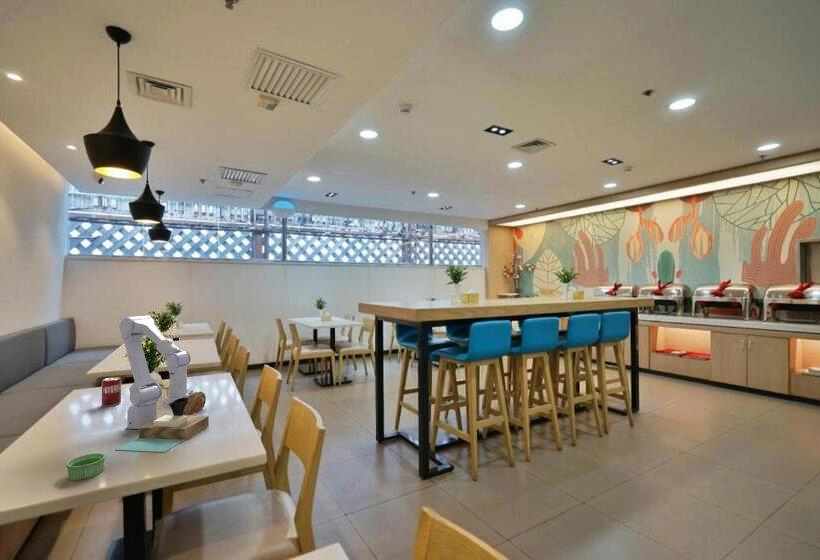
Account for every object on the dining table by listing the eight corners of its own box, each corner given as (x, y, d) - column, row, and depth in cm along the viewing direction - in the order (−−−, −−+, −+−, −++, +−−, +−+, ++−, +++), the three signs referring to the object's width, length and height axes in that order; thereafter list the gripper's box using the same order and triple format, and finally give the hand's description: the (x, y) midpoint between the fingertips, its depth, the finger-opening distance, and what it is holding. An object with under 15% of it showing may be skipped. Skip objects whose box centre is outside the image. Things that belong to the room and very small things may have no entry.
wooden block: (138, 438, 142) (138, 427, 142) (166, 424, 156) (166, 414, 156) (185, 440, 141) (185, 429, 141) (208, 425, 155) (208, 415, 155)
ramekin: (112, 466, 121) (112, 451, 121) (93, 480, 112) (93, 465, 112) (79, 468, 120) (80, 453, 120) (58, 483, 111) (58, 467, 111)
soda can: (123, 403, 183) (124, 378, 183) (105, 407, 177) (105, 381, 177) (117, 401, 187) (117, 376, 187) (98, 405, 181) (99, 379, 181)
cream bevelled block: (153, 426, 143) (153, 420, 143) (165, 420, 149) (165, 415, 149) (176, 427, 143) (176, 421, 143) (187, 421, 149) (187, 416, 149)
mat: (115, 450, 132) (115, 449, 132) (138, 438, 142) (138, 437, 142) (164, 452, 130) (164, 451, 130) (184, 440, 140) (184, 439, 140)
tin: (180, 419, 162) (180, 399, 162) (174, 418, 163) (174, 398, 163) (206, 408, 177) (206, 389, 177) (200, 407, 178) (200, 389, 178)
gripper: (175, 388, 143) (175, 425, 143) (199, 378, 157) (199, 412, 157) (157, 388, 143) (157, 424, 143) (183, 378, 158) (183, 411, 158)
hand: (178, 418), depth 150 cm, fingers closed
